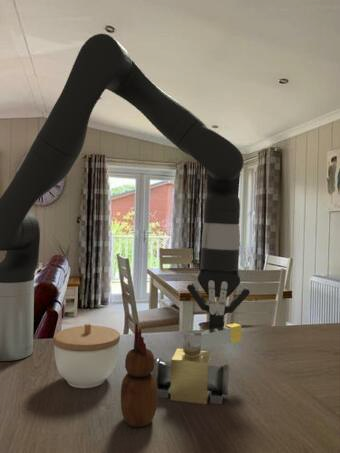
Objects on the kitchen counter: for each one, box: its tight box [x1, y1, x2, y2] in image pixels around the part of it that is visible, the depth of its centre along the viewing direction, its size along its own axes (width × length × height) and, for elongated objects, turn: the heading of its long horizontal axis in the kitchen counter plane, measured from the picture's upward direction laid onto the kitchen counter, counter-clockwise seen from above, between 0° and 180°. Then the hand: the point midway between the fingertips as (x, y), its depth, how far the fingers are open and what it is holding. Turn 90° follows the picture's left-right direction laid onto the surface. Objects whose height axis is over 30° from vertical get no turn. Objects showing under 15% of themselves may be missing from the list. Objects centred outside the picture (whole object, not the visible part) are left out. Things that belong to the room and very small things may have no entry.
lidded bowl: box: [53, 323, 121, 389], centre depth 75 cm, size 13×13×11 cm
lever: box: [182, 322, 242, 355], centre depth 73 cm, size 14×3×3 cm, turn 127°
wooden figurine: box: [120, 322, 158, 428], centre depth 60 cm, size 7×6×15 cm
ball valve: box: [151, 348, 230, 405], centre depth 70 cm, size 14×6×8 cm, turn 79°
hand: (216, 332), depth 77 cm, fingers closed
